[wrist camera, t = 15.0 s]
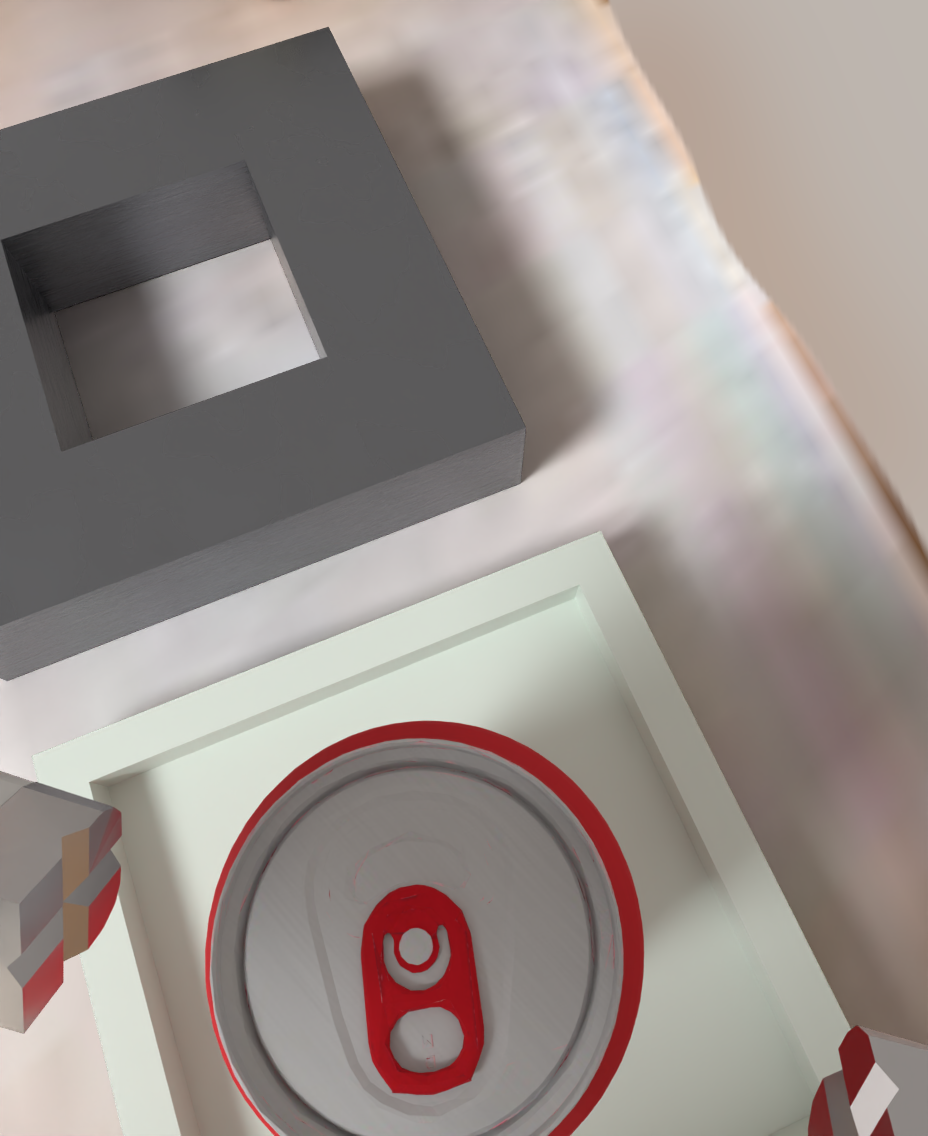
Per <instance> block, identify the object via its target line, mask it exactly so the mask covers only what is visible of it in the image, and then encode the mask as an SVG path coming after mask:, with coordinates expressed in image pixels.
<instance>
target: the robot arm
mask: <svg viewBox="0 0 928 1136" xmlns="http://www.w3.org/2000/svg"><path fill="white" fill-rule="evenodd" d="M121 836H122V815H121V812H120V811H119V810H117V809H116V808H115V807H113V806H110V805H107V804H103V803H100V802H97V801H94V800H91V799H88V798H85V797H82V796H79V795H76V794H73V793H69V792H66V791H63V790H60V789H57V788H54V787H51V786H48V785H45V784H42V783H39V782H32V781H29V780H26V779H23V778H20V777H17V776H14V775H11V774H8V773H5V772H2V771H0V1027H2V1028H6V1029H9V1030H13V1031H16V1032H19V1033H23V1034H24V1033H25V1031H26V1030H27V1029H28V1028H29V1026H30V1025H31V1024H32V1022H33V1021H34V1020H35V1018H36V1017H37V1016H38V1015H39V1013H40V1012H41V1011H42V1009H43V1008H44V1007H45V1005H46V1004H47V1003H48V1002H49V1000H50V999H51V998H52V996H53V995H54V994H55V992H56V991H57V990H58V988H59V987H60V986H61V985H62V983H63V961H65V960H67V959H69V958H71V957H74V956H76V955H78V954H80V953H82V952H84V951H86V950H88V949H89V948H90V946H91V945H92V943H93V942H94V941H95V939H96V938H97V937H98V935H99V934H100V933H101V931H102V930H103V928H104V926H105V924H106V922H107V920H108V918H109V916H110V913H111V911H112V909H113V907H114V905H115V903H116V899H117V895H118V890H119V886H120V878H121V865H120V864H119V862H118V860H117V859H116V857H115V856H114V854H113V852H112V851H111V848H112V847H113V846H114V844H115V843H116V842H117V841H118V840H119V838H120V837H121ZM838 1051H839V1055H840V1060H841V1065H842V1070H840V1071H838V1072H836V1073H833V1074H831V1075H829V1076H827V1077H824V1078H823V1079H822V1081H821V1084H820V1086H819V1088H818V1090H817V1092H816V1094H815V1097H814V1099H813V1101H812V1107H811V1113H810V1119H809V1125H808V1136H928V1045H925V1044H922V1043H918V1042H915V1041H911V1040H908V1039H904V1038H901V1037H897V1036H894V1035H890V1034H887V1033H883V1032H880V1031H876V1030H873V1029H869V1028H866V1027H862V1026H859V1025H857V1026H855V1027H854V1028H852V1029H851V1030H850V1031H848V1032H847V1034H846V1036H845V1037H844V1039H843V1041H842V1043H841V1045H840V1047H839V1048H838Z"/></svg>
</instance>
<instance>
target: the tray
mask: <svg viewBox="0 0 928 1136" xmlns="http://www.w3.org/2000/svg"><path fill="white" fill-rule="evenodd" d="M424 720H427V721H445V722H455V723H462V724H467V725H472V726H477V727H481V728H484V729H487V730H491V731H493V732H496V733H499V734H501V735H504V736H507V737H509V738H511V739H513V740H515V741H517V742H519V743H521V744H524V745H526V746H528V747H529V748H531V749H532V750H534V751H536V752H537V753H539V754H540V755H542V756H543V757H545V758H546V759H547V760H549V761H550V762H552V763H553V764H554V765H556V766H557V767H558V768H559V769H560V770H562V771H563V772H564V773H565V774H566V775H567V776H568V777H570V778H571V779H572V780H573V781H574V782H575V783H576V784H577V785H578V786H579V787H580V788H581V790H582V791H583V792H584V793H585V794H586V795H587V797H588V798H589V799H590V800H591V801H592V803H593V804H594V805H595V806H596V808H597V809H598V811H599V812H600V814H601V815H602V816H603V818H604V819H605V821H606V822H607V824H608V826H609V827H610V829H611V831H612V833H613V835H614V836H615V838H616V840H617V842H618V844H619V846H620V848H621V851H622V853H623V855H624V857H625V860H626V862H627V865H628V867H629V870H630V873H631V875H632V879H633V882H634V886H635V890H636V893H637V897H638V901H639V907H640V913H641V919H642V926H643V935H644V975H643V984H642V992H641V1000H640V1005H639V1009H638V1014H637V1018H636V1021H635V1025H634V1028H633V1032H632V1035H631V1039H630V1041H629V1044H628V1047H627V1049H626V1052H625V1054H624V1057H623V1059H622V1062H621V1064H620V1066H619V1068H618V1070H617V1072H616V1074H615V1075H614V1077H613V1079H612V1081H611V1082H610V1084H609V1086H608V1088H607V1089H606V1091H605V1093H604V1095H603V1096H602V1098H601V1099H600V1100H599V1102H598V1103H597V1104H596V1106H595V1107H594V1108H593V1110H592V1111H591V1112H590V1114H589V1115H588V1116H587V1117H586V1119H585V1120H584V1121H583V1122H582V1123H581V1124H580V1125H579V1127H578V1128H577V1129H576V1130H575V1131H574V1132H573V1133H572V1135H570V1136H808V1125H809V1119H810V1113H811V1107H812V1101H813V1099H814V1097H815V1094H816V1092H817V1090H818V1088H819V1086H820V1084H821V1081H822V1079H823V1078H824V1077H827V1076H829V1075H831V1074H833V1073H836V1072H838V1071H840V1070H842V1065H841V1060H840V1055H839V1051H838V1048H839V1047H840V1045H841V1043H842V1041H843V1039H844V1037H845V1036H846V1034H847V1032H848V1031H850V1030H851V1028H850V1026H849V1024H848V1022H847V1020H846V1018H845V1016H844V1014H843V1012H842V1010H841V1008H840V1006H839V1004H838V1002H837V1000H836V998H835V996H834V994H833V992H832V990H831V988H830V986H829V984H828V982H827V980H826V978H825V976H824V974H823V972H822V970H821V968H820V966H819V964H818V962H817V960H816V958H815V956H814V954H813V952H812V950H811V948H810V946H809V944H808V942H807V940H806V938H805V936H804V934H803V932H802V930H801V928H800V926H799V924H798V922H797V920H796V918H795V916H794V914H793V912H792V910H791V908H790V906H789V904H788V902H787V900H786V898H785V896H784V894H783V892H782V890H781V889H780V887H779V885H778V883H777V881H776V879H775V877H774V875H773V873H772V871H771V869H770V867H769V865H768V863H767V861H766V859H765V857H764V855H763V853H762V851H761V849H760V847H759V845H758V843H757V841H756V839H755V837H754V835H753V833H752V831H751V829H750V827H749V825H748V823H747V821H746V819H745V817H744V815H743V813H742V811H741V809H740V807H739V805H738V803H737V801H736V799H735V797H734V795H733V793H732V791H731V789H730V787H729V785H728V783H727V781H726V779H725V777H724V775H723V773H722V771H721V769H720V767H719V765H718V763H717V761H716V759H715V757H714V755H713V753H712V751H711V749H710V747H709V745H708V743H707V741H706V739H705V737H704V735H703V733H702V731H701V729H700V727H699V725H698V723H697V721H696V719H695V717H694V715H693V713H692V711H691V709H690V708H689V706H688V704H687V702H686V700H685V698H684V696H683V694H682V692H681V690H680V688H679V686H678V684H677V682H676V680H675V678H674V676H673V674H672V672H671V670H670V668H669V666H668V664H667V662H666V660H665V658H664V656H663V654H662V652H661V650H660V648H659V646H658V644H657V642H656V640H655V638H654V636H653V634H652V632H651V630H650V628H649V626H648V624H647V622H646V620H645V618H644V616H643V614H642V612H641V610H640V608H639V606H638V604H637V602H636V600H635V598H634V596H633V594H632V592H631V590H630V588H629V586H628V584H627V582H626V580H625V578H624V576H623V574H622V572H621V570H620V568H619V566H618V564H617V562H616V560H615V558H614V556H613V554H612V552H611V550H610V548H609V546H608V544H607V542H606V540H605V538H604V536H603V534H602V532H601V531H598V532H596V533H593V534H591V535H588V536H586V537H583V538H581V539H578V540H576V541H573V542H571V543H568V544H566V545H563V546H560V547H558V548H555V549H553V550H550V551H548V552H545V553H543V554H540V555H538V556H535V557H533V558H530V559H528V560H525V561H523V562H520V563H518V564H515V565H513V566H510V567H507V568H505V569H502V570H500V571H497V572H495V573H492V574H490V575H487V576H485V577H482V578H480V579H477V580H475V581H472V582H470V583H467V584H465V585H462V586H459V587H457V588H454V589H452V590H449V591H447V592H444V593H442V594H439V595H437V596H434V597H432V598H429V599H427V600H424V601H422V602H419V603H417V604H414V605H411V606H409V607H406V608H404V609H401V610H399V611H396V612H394V613H391V614H389V615H386V616H384V617H381V618H379V619H376V620H374V621H371V622H369V623H366V624H364V625H361V626H358V627H356V628H353V629H351V630H348V631H346V632H343V633H341V634H338V635H336V636H333V637H331V638H328V639H326V640H323V641H321V642H318V643H316V644H313V645H310V646H308V647H305V648H303V649H300V650H298V651H295V652H293V653H290V654H288V655H285V656H283V657H280V658H278V659H275V660H273V661H270V662H268V663H265V664H263V665H260V666H257V667H255V668H252V669H250V670H247V671H245V672H242V673H240V674H237V675H235V676H232V677H230V678H227V679H225V680H222V681H220V682H217V683H215V684H212V685H209V686H207V687H204V688H202V689H199V690H197V691H194V692H192V693H189V694H187V695H184V696H182V697H179V698H177V699H174V700H172V701H169V702H167V703H164V704H162V705H159V706H156V707H154V708H151V709H149V710H146V711H144V712H141V713H139V714H136V715H134V716H131V717H129V718H126V719H124V720H121V721H119V722H116V723H114V724H111V725H108V726H106V727H103V728H101V729H98V730H96V731H93V732H91V733H88V734H86V735H83V736H81V737H78V738H76V739H73V740H71V741H68V742H66V743H63V744H61V745H58V746H55V747H53V748H50V749H48V750H45V751H43V752H40V753H38V754H35V755H33V756H32V760H33V764H34V768H35V772H36V776H37V781H38V782H39V783H42V784H45V785H48V786H51V787H54V788H57V789H60V790H63V791H66V792H69V793H73V794H76V795H79V796H82V797H85V798H88V799H91V800H94V801H97V802H100V803H103V804H107V805H110V806H113V807H115V808H116V809H117V810H119V811H120V812H121V815H122V836H121V837H120V838H119V840H118V841H117V842H116V843H115V844H114V846H113V847H112V848H111V851H112V852H113V854H114V856H115V857H116V859H117V860H118V862H119V864H120V865H121V878H120V886H119V890H118V895H117V899H116V903H115V905H114V907H113V909H112V911H111V913H110V916H109V918H108V920H107V922H106V924H105V926H104V928H103V930H102V931H101V933H100V934H99V935H98V937H97V938H96V939H95V941H94V942H93V943H92V945H91V946H90V948H89V949H88V950H86V951H84V952H82V953H80V954H79V955H80V959H81V963H82V967H83V971H84V975H85V980H86V984H87V988H88V992H89V996H90V1000H91V1004H92V1009H93V1013H94V1017H95V1021H96V1025H97V1029H98V1034H99V1038H100V1042H101V1046H102V1050H103V1054H104V1058H105V1063H106V1067H107V1071H108V1075H109V1079H110V1083H111V1087H112V1092H113V1096H114V1100H115V1104H116V1108H117V1112H118V1116H119V1121H120V1125H121V1129H122V1133H123V1136H274V1135H273V1134H272V1133H271V1132H270V1131H269V1129H268V1128H267V1127H266V1126H265V1125H264V1124H263V1123H262V1122H261V1120H260V1119H259V1118H258V1117H257V1115H256V1114H255V1113H254V1111H253V1110H252V1109H251V1107H250V1106H249V1105H248V1103H247V1102H246V1101H245V1099H244V1097H243V1096H242V1094H241V1092H240V1091H239V1089H238V1087H237V1086H236V1084H235V1082H234V1081H233V1079H232V1077H231V1074H230V1072H229V1070H228V1068H227V1066H226V1063H225V1061H224V1059H223V1056H222V1053H221V1050H220V1047H219V1044H218V1041H217V1038H216V1035H215V1032H214V1029H213V1025H212V1019H211V1014H210V1009H209V1004H208V998H207V991H206V982H205V946H206V937H207V928H208V919H209V915H210V910H211V906H212V902H213V898H214V893H215V889H216V886H217V883H218V881H219V878H220V875H221V872H222V869H223V867H224V864H225V862H226V860H227V858H228V855H229V853H230V851H231V848H232V846H233V845H234V843H235V841H236V839H237V838H238V836H239V834H240V833H241V831H242V829H243V827H244V826H245V824H246V822H247V821H248V820H249V818H250V817H251V816H252V814H253V813H254V812H255V810H256V809H257V808H258V806H259V805H260V804H261V802H262V801H263V799H264V798H265V797H266V796H267V795H268V794H269V793H270V792H271V791H272V790H273V789H274V788H275V787H276V786H277V785H278V784H279V783H280V782H281V781H282V780H283V779H284V778H285V777H286V776H287V775H288V774H290V773H291V772H292V771H293V770H294V769H295V768H296V767H298V766H299V765H301V764H302V763H304V762H305V761H306V760H308V759H309V758H311V757H312V756H314V755H315V754H317V753H318V752H320V751H321V750H323V749H325V748H326V747H328V746H330V745H332V744H334V743H336V742H338V741H340V740H342V739H345V738H347V737H349V736H351V735H354V734H357V733H360V732H363V731H366V730H369V729H372V728H376V727H380V726H384V725H389V724H394V723H402V722H410V721H424Z"/></svg>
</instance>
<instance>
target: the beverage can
mask: <svg viewBox="0 0 928 1136" xmlns="http://www.w3.org/2000/svg"><path fill="white" fill-rule="evenodd" d="M643 975H644V935H643V926H642V919H641V913H640V907H639V901H638V897H637V893H636V890H635V886H634V882H633V879H632V875H631V873H630V870H629V867H628V865H627V862H626V860H625V857H624V855H623V853H622V851H621V848H620V846H619V844H618V842H617V840H616V838H615V836H614V835H613V833H612V831H611V829H610V827H609V826H608V824H607V822H606V821H605V819H604V818H603V816H602V815H601V814H600V812H599V811H598V809H597V808H596V806H595V805H594V804H593V803H592V801H591V800H590V799H589V798H588V797H587V795H586V794H585V793H584V792H583V791H582V790H581V788H580V787H579V786H578V785H577V784H576V783H575V782H574V781H573V780H572V779H571V778H570V777H568V776H567V775H566V774H565V773H564V772H563V771H562V770H560V769H559V768H558V767H557V766H556V765H554V764H553V763H552V762H550V761H549V760H547V759H546V758H545V757H543V756H542V755H540V754H539V753H537V752H536V751H534V750H532V749H531V748H529V747H528V746H526V745H524V744H521V743H519V742H517V741H515V740H513V739H511V738H509V737H507V736H504V735H501V734H499V733H496V732H493V731H491V730H487V729H484V728H481V727H477V726H472V725H467V724H462V723H455V722H445V721H427V720H424V721H410V722H402V723H394V724H389V725H384V726H380V727H376V728H372V729H369V730H366V731H363V732H360V733H357V734H354V735H351V736H349V737H347V738H345V739H342V740H340V741H338V742H336V743H334V744H332V745H330V746H328V747H326V748H325V749H323V750H321V751H320V752H318V753H317V754H315V755H314V756H312V757H311V758H309V759H308V760H306V761H305V762H304V763H302V764H301V765H299V766H298V767H296V768H295V769H294V770H293V771H292V772H291V773H290V774H288V775H287V776H286V777H285V778H284V779H283V780H282V781H281V782H280V783H279V784H278V785H277V786H276V787H275V788H274V789H273V790H272V791H271V792H270V793H269V794H268V795H267V796H266V797H265V798H264V799H263V801H262V802H261V804H260V805H259V806H258V808H257V809H256V810H255V812H254V813H253V814H252V816H251V817H250V818H249V820H248V821H247V822H246V824H245V826H244V827H243V829H242V831H241V833H240V834H239V836H238V838H237V839H236V841H235V843H234V845H233V846H232V848H231V851H230V853H229V855H228V858H227V860H226V862H225V864H224V867H223V869H222V872H221V875H220V878H219V881H218V883H217V886H216V889H215V893H214V898H213V902H212V906H211V910H210V915H209V919H208V928H207V937H206V946H205V982H206V991H207V998H208V1004H209V1009H210V1014H211V1019H212V1025H213V1029H214V1032H215V1035H216V1038H217V1041H218V1044H219V1047H220V1050H221V1053H222V1056H223V1059H224V1061H225V1063H226V1066H227V1068H228V1070H229V1072H230V1074H231V1077H232V1079H233V1081H234V1082H235V1084H236V1086H237V1087H238V1089H239V1091H240V1092H241V1094H242V1096H243V1097H244V1099H245V1101H246V1102H247V1103H248V1105H249V1106H250V1107H251V1109H252V1110H253V1111H254V1113H255V1114H256V1115H257V1117H258V1118H259V1119H260V1120H261V1122H262V1123H263V1124H264V1125H265V1126H266V1127H267V1128H268V1129H269V1131H270V1132H271V1133H272V1134H273V1135H274V1136H570V1135H572V1133H573V1132H574V1131H575V1130H576V1129H577V1128H578V1127H579V1125H580V1124H581V1123H582V1122H583V1121H584V1120H585V1119H586V1117H587V1116H588V1115H589V1114H590V1112H591V1111H592V1110H593V1108H594V1107H595V1106H596V1104H597V1103H598V1102H599V1100H600V1099H601V1098H602V1096H603V1095H604V1093H605V1091H606V1089H607V1088H608V1086H609V1084H610V1082H611V1081H612V1079H613V1077H614V1075H615V1074H616V1072H617V1070H618V1068H619V1066H620V1064H621V1062H622V1059H623V1057H624V1054H625V1052H626V1049H627V1047H628V1044H629V1041H630V1039H631V1035H632V1032H633V1028H634V1025H635V1021H636V1018H637V1014H638V1009H639V1005H640V1000H641V992H642V984H643Z"/></svg>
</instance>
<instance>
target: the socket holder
mask: <svg viewBox="0 0 928 1136" xmlns="http://www.w3.org/2000/svg"><path fill="white" fill-rule="evenodd" d="M267 239H271V241H272V244H273V246H274V248H275V251H276V253H277V256H278V258H279V260H280V263H281V265H282V268H283V270H284V273H285V275H286V277H287V280H288V282H289V285H290V287H291V289H292V292H293V294H294V297H295V299H296V301H297V304H298V306H299V309H300V311H301V313H302V316H303V318H304V321H305V323H306V326H307V328H308V330H309V333H310V335H311V338H312V340H313V342H314V345H315V347H316V350H317V352H318V354H319V357H320V359H319V360H316V361H313V362H311V363H308V364H305V365H302V366H299V367H297V368H294V369H291V370H288V371H286V372H283V373H280V374H277V375H274V376H272V377H269V378H266V379H263V380H260V381H258V382H255V383H252V384H249V385H246V386H244V387H241V388H238V389H235V390H232V391H230V392H227V393H224V394H221V395H218V396H216V397H213V398H210V399H207V400H205V401H202V402H199V403H196V404H193V405H191V406H188V407H185V408H182V409H179V410H177V411H174V412H171V413H168V414H165V415H163V416H160V417H157V418H154V419H151V420H149V421H146V422H143V423H140V424H137V425H135V426H132V427H129V428H126V429H123V430H121V431H118V432H115V433H112V434H110V435H107V436H104V437H101V438H98V439H96V440H92V436H91V433H90V430H89V426H88V423H87V420H86V416H85V413H84V410H83V407H82V403H81V400H80V397H79V393H78V390H77V387H76V383H75V380H74V377H73V373H72V370H71V367H70V363H69V360H68V357H67V353H66V350H65V347H64V343H63V340H62V337H61V333H60V330H59V327H58V323H57V320H56V317H55V314H54V312H55V311H58V310H61V309H64V308H67V307H70V306H73V305H76V304H78V303H81V302H84V301H87V300H90V299H93V298H96V297H99V296H102V295H105V294H108V293H111V292H114V291H117V290H120V289H123V288H126V287H129V286H132V285H134V284H137V283H140V282H143V281H146V280H149V279H152V278H155V277H158V276H161V275H164V274H167V273H170V272H173V271H176V270H179V269H182V268H185V267H187V266H190V265H193V264H196V263H199V262H202V261H205V260H208V259H211V258H214V257H217V256H220V255H223V254H226V253H229V252H232V251H235V250H238V249H241V248H243V247H246V246H249V245H252V244H255V243H258V242H261V241H264V240H267ZM525 433H526V427H525V425H524V423H523V421H522V419H521V416H520V414H519V412H518V410H517V408H516V406H515V404H514V402H513V400H512V398H511V396H510V394H509V392H508V390H507V388H506V386H505V384H504V382H503V380H502V378H501V376H500V374H499V372H498V370H497V368H496V366H495V364H494V362H493V360H492V358H491V356H490V354H489V352H488V350H487V347H486V345H485V343H484V341H483V339H482V337H481V335H480V333H479V331H478V329H477V327H476V325H475V323H474V321H473V319H472V317H471V315H470V313H469V311H468V309H467V307H466V305H465V303H464V301H463V299H462V297H461V295H460V293H459V291H458V289H457V287H456V285H455V283H454V281H453V278H452V276H451V274H450V272H449V270H448V268H447V266H446V264H445V262H444V260H443V258H442V256H441V254H440V252H439V250H438V248H437V246H436V244H435V242H434V240H433V238H432V236H431V234H430V232H429V230H428V228H427V226H426V224H425V222H424V220H423V218H422V216H421V214H420V212H419V209H418V207H417V205H416V203H415V201H414V199H413V197H412V195H411V193H410V191H409V189H408V187H407V185H406V183H405V181H404V179H403V177H402V175H401V173H400V171H399V169H398V167H397V165H396V163H395V161H394V159H393V157H392V155H391V153H390V151H389V149H388V147H387V145H386V143H385V140H384V138H383V136H382V134H381V132H380V130H379V128H378V126H377V124H376V122H375V120H374V118H373V116H372V114H371V112H370V110H369V108H368V106H367V104H366V102H365V100H364V98H363V96H362V94H361V92H360V90H359V88H358V86H357V84H356V82H355V80H354V78H353V76H352V74H351V71H350V69H349V67H348V65H347V63H346V61H345V59H344V57H343V55H342V53H341V51H340V49H339V47H338V45H337V43H336V41H335V39H334V37H333V35H332V33H331V31H330V29H329V27H326V28H323V29H320V30H317V31H314V32H310V33H307V34H304V35H301V36H298V37H294V38H291V39H288V40H285V41H282V42H278V43H275V44H272V45H269V46H266V47H263V48H259V49H256V50H253V51H250V52H247V53H243V54H240V55H237V56H234V57H231V58H227V59H224V60H221V61H218V62H215V63H211V64H208V65H205V66H202V67H199V68H196V69H192V70H189V71H186V72H183V73H180V74H176V75H173V76H170V77H167V78H164V79H160V80H157V81H154V82H151V83H148V84H145V85H141V86H138V87H135V88H132V89H129V90H125V91H122V92H119V93H116V94H113V95H109V96H106V97H103V98H100V99H97V100H93V101H90V102H87V103H84V104H81V105H78V106H74V107H71V108H68V109H65V110H62V111H58V112H55V113H52V114H49V115H46V116H42V117H39V118H36V119H33V120H30V121H27V122H23V123H20V124H17V125H14V126H11V127H7V128H4V129H1V130H0V678H1V679H3V680H6V681H8V680H11V679H13V678H16V677H19V676H21V675H24V674H26V673H29V672H32V671H34V670H37V669H39V668H42V667H45V666H47V665H50V664H52V663H55V662H58V661H60V660H63V659H65V658H68V657H71V656H73V655H76V654H78V653H81V652H84V651H86V650H89V649H91V648H94V647H97V646H99V645H102V644H104V643H107V642H110V641H112V640H115V639H117V638H120V637H123V636H125V635H128V634H130V633H133V632H136V631H138V630H141V629H143V628H146V627H149V626H151V625H154V624H156V623H159V622H162V621H164V620H167V619H169V618H172V617H174V616H177V615H180V614H182V613H185V612H187V611H190V610H193V609H195V608H198V607H200V606H203V605H206V604H208V603H211V602H213V601H216V600H219V599H221V598H224V597H226V596H229V595H232V594H234V593H237V592H239V591H242V590H245V589H247V588H250V587H252V586H255V585H258V584H260V583H263V582H265V581H268V580H271V579H273V578H276V577H278V576H281V575H284V574H286V573H289V572H291V571H294V570H297V569H299V568H302V567H304V566H307V565H310V564H312V563H315V562H317V561H320V560H323V559H325V558H328V557H330V556H333V555H336V554H338V553H341V552H343V551H346V550H348V549H351V548H354V547H356V546H359V545H361V544H364V543H367V542H369V541H372V540H374V539H377V538H380V537H382V536H385V535H387V534H390V533H393V532H395V531H398V530H400V529H403V528H406V527H408V526H411V525H413V524H416V523H419V522H421V521H424V520H426V519H429V518H432V517H434V516H437V515H439V514H442V513H445V512H447V511H450V510H452V509H455V508H458V507H460V506H463V505H465V504H468V503H471V502H473V501H476V500H478V499H481V498H484V497H486V496H489V495H491V494H494V493H497V492H499V491H502V490H504V489H507V488H509V487H512V486H515V485H517V484H520V483H521V474H522V463H523V453H524V443H525Z"/></svg>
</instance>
